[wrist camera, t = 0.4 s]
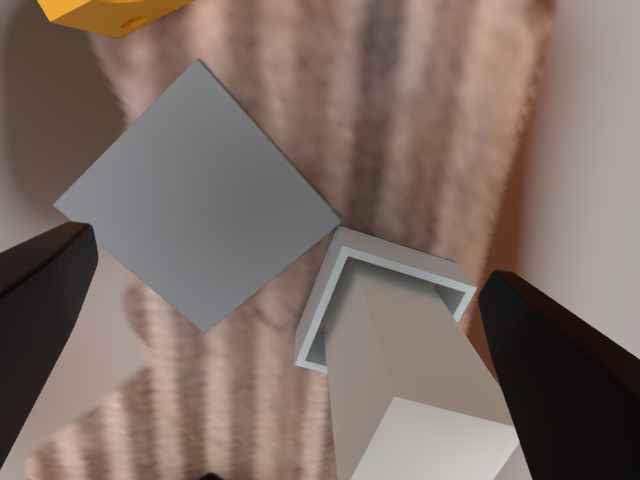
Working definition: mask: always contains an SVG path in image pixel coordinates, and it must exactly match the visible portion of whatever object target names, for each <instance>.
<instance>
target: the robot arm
mask: <svg viewBox="0 0 640 480" xmlns="http://www.w3.org/2000/svg"><path fill="white" fill-rule="evenodd" d="M97 264H98V250H97V245H96V239H95V233H94V229H93V227H92V225H91V224H89V223H83V222H74V221H69V222H66V223H64V224H62V225H59V226H57V227H55V228H53V229H51V230H49V231H47V232H44V233H42V234H40V235H38V236H36V237H33V238H31V239H29V240H27V241H25V242H23V243H20V244H18V245H16V246H14V247H12V248H10V249H7V250H5V251H3V252H1V253H0V469H1V468H2V466H3V464H4V462H5V460H6V458H7V456H8V454H9V452H10V450H11V448H12V446H13V444H14V443H15V441H16V439H17V437H18V435H19V433H20V431H21V429H22V427H23V425H24V423H25V421H26V419H27V417H28V415H29V413H30V412H31V410H32V408H33V406H34V404H35V402H36V400H37V398H38V396H39V394H40V393H41V391H42V389H43V387H44V385H45V383H46V381H47V379H48V377H49V375H50V373H51V371H52V369H53V368H54V366H55V364H56V362H57V360H58V358H59V356H60V354H61V352H62V350H63V348H64V346H65V344H66V342H67V341H68V338H69V337H70V334H71V332H72V330H73V328H74V326H75V323H76V321H77V318H78V316H79V313H80V310H81V308H82V305H83V302H84V299H85V297H86V294H87V292H88V289H89V286H90V283H91V281H92V278H93V275H94V273H95V270H96V267H97ZM478 304H479V309H480V313H481V318H482V322H483V326H484V331H485V335H486V339H487V344H488V348H489V352H490V356H491V360H492V363H493V366H494V369H495V372H496V375H497V378H498V381H499V384H500V387H501V390H502V393H503V396H504V399H505V401H506V404H507V407H508V410H509V413H510V416H511V419H512V422H513V425H514V428H515V431H516V433H517V436H518V439H519V442H520V445H521V448H522V451H523V454H524V457H525V460H526V462H527V465H528V468H529V471H530V474H531V477H532V480H640V359H638V358H637V357H636V356H634V355H633V354H631V353H630V352H628V351H627V350H625V349H624V348H622V347H621V346H619V345H618V344H617V343H615V342H614V341H612V340H611V339H609V338H608V337H607V336H605V335H604V334H602V333H601V332H599V331H598V330H596V329H595V328H594V327H592V326H590V325H589V324H588V323H586V322H585V321H583V320H582V319H580V318H579V317H577V316H576V315H575V314H573V313H572V312H570V311H569V310H568V309H566V308H565V307H563V306H562V305H560V304H559V303H557V302H556V301H555V300H553V299H552V298H550V297H549V296H547V295H546V294H544V293H543V292H541V291H540V290H539V289H537V288H536V287H534V286H533V285H531V284H530V283H528V282H527V281H526V280H524V279H523V278H521V277H520V276H518V275H517V274H515V273H514V272H512V271H506V270H495V271H493V272H492V273H491V275H490V276H489V278H488V280H487V281H486V283H485V285H484V287H483V288H482V290H481V292H480V294H479V297H478ZM201 480H220V479H219V478H217V477H216V476H214V475H207V476H205V477H204V478H202V479H201Z"/></svg>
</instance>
